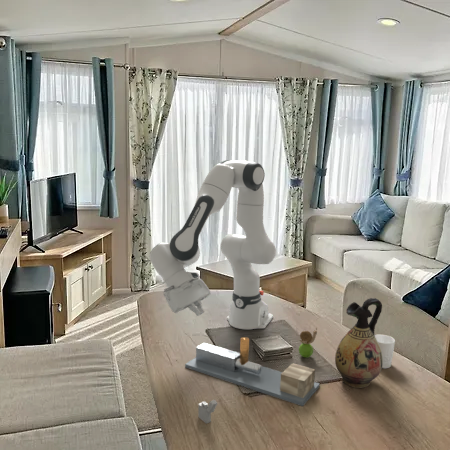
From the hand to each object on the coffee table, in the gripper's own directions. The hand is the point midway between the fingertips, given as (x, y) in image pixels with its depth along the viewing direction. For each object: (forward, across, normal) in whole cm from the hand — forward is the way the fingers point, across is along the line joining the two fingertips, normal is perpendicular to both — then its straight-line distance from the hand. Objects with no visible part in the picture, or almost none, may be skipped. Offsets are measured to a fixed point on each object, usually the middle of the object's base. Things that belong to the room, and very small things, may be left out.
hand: (201, 314), depth 177 cm
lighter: (+30, -30, -3) cm, 42 cm away
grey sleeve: (+17, 0, +7) cm, 19 cm away
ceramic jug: (+50, +18, -24) cm, 59 cm away
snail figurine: (+35, +25, -9) cm, 44 cm away
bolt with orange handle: (+20, 0, +3) cm, 20 cm away
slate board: (+27, 0, -2) cm, 27 cm away
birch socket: (+39, 0, -15) cm, 42 cm away
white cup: (+52, +35, -27) cm, 69 cm away
